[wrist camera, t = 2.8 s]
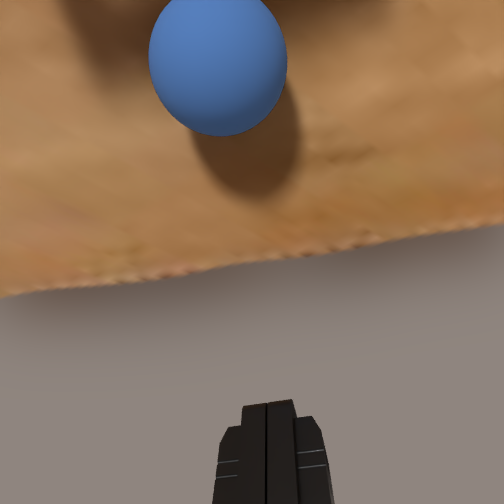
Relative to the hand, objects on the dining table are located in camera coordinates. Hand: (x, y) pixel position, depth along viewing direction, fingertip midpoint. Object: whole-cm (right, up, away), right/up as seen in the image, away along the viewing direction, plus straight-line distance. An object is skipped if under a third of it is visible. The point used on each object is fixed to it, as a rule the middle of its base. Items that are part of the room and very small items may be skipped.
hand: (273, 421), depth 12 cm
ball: (-2, +13, +5) cm, 15 cm away
